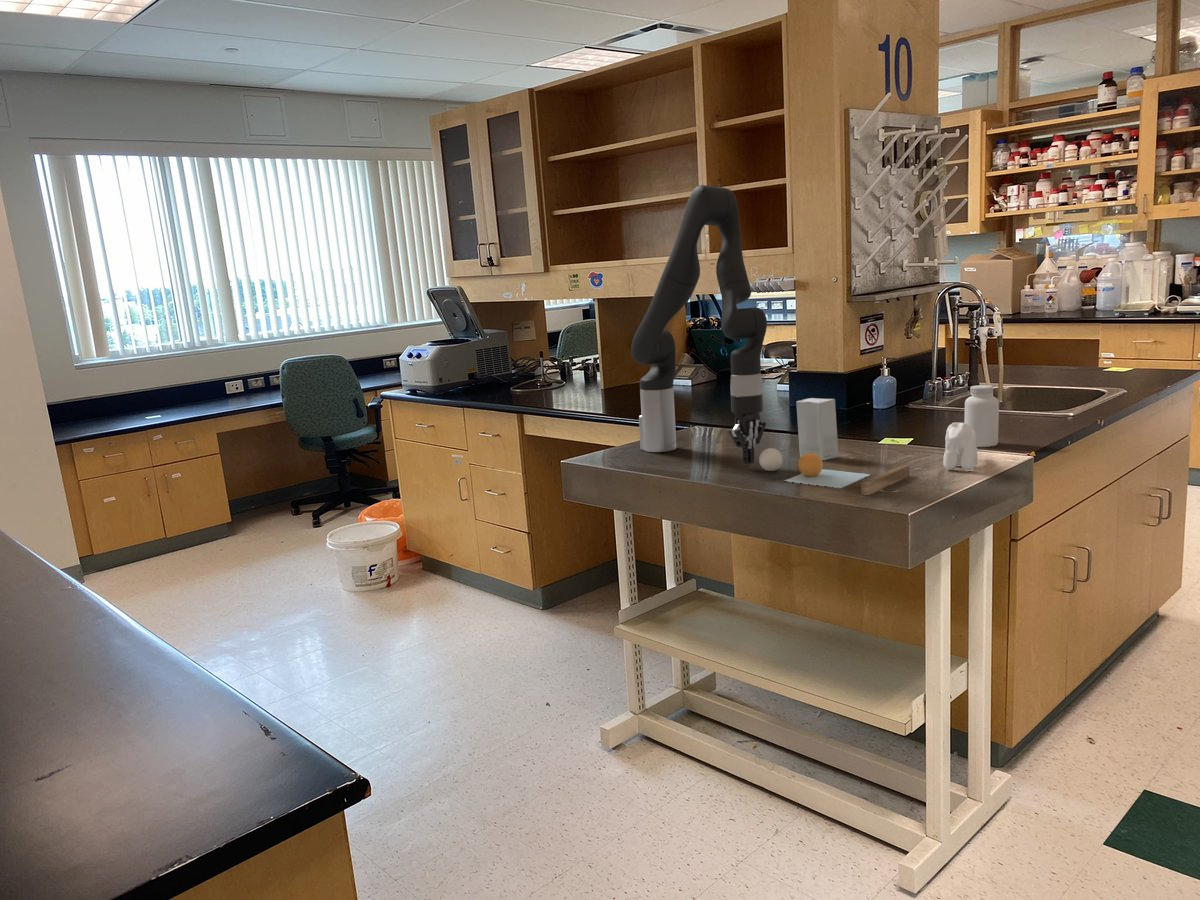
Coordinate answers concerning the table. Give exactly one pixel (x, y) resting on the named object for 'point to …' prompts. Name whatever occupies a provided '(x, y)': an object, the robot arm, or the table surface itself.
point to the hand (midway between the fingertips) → (748, 463)
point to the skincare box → (817, 427)
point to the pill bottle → (983, 415)
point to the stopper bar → (884, 480)
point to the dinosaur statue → (960, 447)
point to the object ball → (810, 464)
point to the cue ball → (770, 459)
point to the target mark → (829, 478)
